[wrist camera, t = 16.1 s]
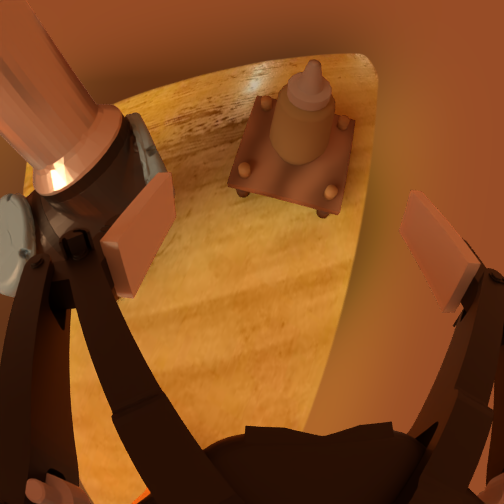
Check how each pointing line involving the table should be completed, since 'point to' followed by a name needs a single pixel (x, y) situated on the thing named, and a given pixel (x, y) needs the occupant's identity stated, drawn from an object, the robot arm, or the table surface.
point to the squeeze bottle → (303, 116)
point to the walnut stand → (287, 175)
